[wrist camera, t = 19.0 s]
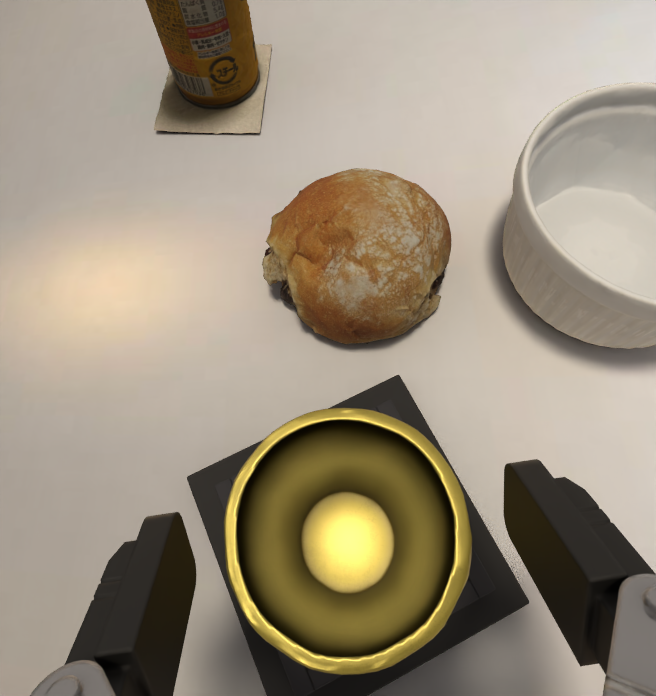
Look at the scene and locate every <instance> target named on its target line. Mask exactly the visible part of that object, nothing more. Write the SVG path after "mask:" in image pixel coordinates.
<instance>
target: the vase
mask: <svg viewBox="0 0 656 696" xmlns="http://www.w3.org/2000/svg"><path fill="white" fill-rule="evenodd" d="M224 538H225V558H226V569H227V573H228V578H229V582H230V584H231V587H232V589H233V591H234V593H235V596H236V598H237V600H238V602H239V605H240V607H241V609H242V611H243V613H244V615H245V616H246V618H247V620H248V622H249V623H250V625H251V626H252V627H253V628H254V630H255V631H256V632H257V633H258V634H259V635H260V636H261V637H262V638H263V639H264V640H265V641H267V642H268V643H270V644H271V645H272V646H274V647H275V648H277V649H278V650H280V651H281V652H282V653H284V654H285V655H287V656H288V657H290V658H291V659H292V660H294V661H296V662H298V663H300V664H301V665H303V666H305V667H307V668H309V669H312V670H316V671H320V672H324V673H331V674H341V675H348V674H364V673H370V672H376V671H380V670H382V669H385V668H388V667H391V666H393V665H394V664H396V663H398V662H399V661H401V660H403V659H404V658H406V657H408V656H409V655H411V654H412V653H414V652H415V651H417V650H418V649H420V648H421V647H423V646H424V645H425V644H426V643H428V642H429V641H430V640H432V639H433V638H434V637H435V636H436V635H437V634H438V633H439V632H440V630H441V629H442V628H443V627H444V626H445V624H446V622H447V620H448V618H449V616H450V614H451V613H452V611H453V609H454V607H455V605H456V603H457V601H458V599H459V596H460V594H461V592H462V590H463V588H464V586H465V584H466V582H467V580H468V576H469V571H470V565H471V557H472V535H471V529H470V523H469V517H468V512H467V507H466V503H465V499H464V495H463V492H462V490H461V487H460V485H459V483H458V480H457V478H456V477H455V475H454V473H453V471H452V469H451V468H450V466H449V465H448V463H447V462H446V461H445V459H444V458H443V456H442V455H441V454H440V452H439V451H438V450H437V449H436V448H435V447H434V445H433V444H432V443H431V442H430V441H429V440H428V439H427V438H426V437H425V436H424V435H422V434H421V433H420V432H419V431H418V430H416V429H415V428H413V427H411V426H410V425H408V424H406V423H404V422H402V421H400V420H397V419H395V418H393V417H390V416H388V415H385V414H383V413H379V412H376V411H373V410H367V409H357V408H332V409H323V410H317V411H313V412H310V413H307V414H304V415H302V416H300V417H297V418H295V419H293V420H291V421H289V422H287V423H286V424H284V425H282V426H281V427H279V428H278V429H276V430H275V431H273V432H272V433H271V434H270V435H269V436H268V437H266V438H265V439H264V441H263V442H262V443H261V444H260V445H259V446H258V447H257V449H256V450H255V451H254V452H253V453H252V454H251V456H250V457H249V458H248V460H247V461H246V462H245V464H244V465H243V466H242V468H241V469H240V471H239V473H238V475H237V477H236V478H235V480H234V483H233V486H232V489H231V492H230V495H229V499H228V503H227V506H226V512H225V519H224Z"/></svg>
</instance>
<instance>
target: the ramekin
mask: <svg viewBox="0 0 656 696" xmlns="http://www.w3.org/2000/svg"><path fill="white" fill-rule="evenodd" d="M503 256H504V259H505V266H506V269H507V271H508V273H509V277H510V280H511V281H512V283H513V284H514V286H515V289H516V291H517V292H518V293H519V294H520V295H521V297H522V299H523V301H524V302H525V303H526V304H527V305H528V306H529V307H530V308H531V309H532V311H533V312H534V313H536V314H537V315H538V316H540V317H541V318H542V319H543V320H544V321H545V322H547V323H548V324H550V325H552V326H553V327H554V328H556V329H557V330H559V331H561V332H563V333H565V334H567V335H569V336H571V337H574V338H577V339H579V340H581V341H584V342H587V343H592V344H595V345H598V346H606V347H611V348H625V349H632V348H636V347H638V348H645V347H650V346H653V345H656V83H623V84H615V85H609V86H604V87H600V88H596V89H593V90H589V91H586V92H584V93H581V94H579V95H576V96H575V97H572V98H571V99H569V100H567V101H565V102H564V103H562V104H561V105H559V106H558V107H556V108H555V109H554V110H552V111H551V112H550V113H549V114H548V115H547V116H546V117H545V118H544V119H543V120H542V121H541V122H540V123H539V124H538V125H537V126H536V128H535V129H534V131H533V132H532V134H531V135H530V137H529V139H528V141H527V143H526V145H525V147H524V149H523V151H522V153H521V155H520V157H519V160H518V163H517V166H516V169H515V173H514V179H513V194H512V198H511V201H510V205H509V208H508V212H507V217H506V221H505V226H504V235H503Z"/></svg>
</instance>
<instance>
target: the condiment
mask: <svg viewBox="0 0 656 696" xmlns="http://www.w3.org/2000/svg"><path fill="white" fill-rule="evenodd" d="M146 3H147V5H148V8H149V11H150V13H151V16H152V19H153V22H154V25H155V27H156V30H157V33H158V36H159V38H160V41H161V44H162V46H163V49H164V52H165V55H166V58H167V61H168V64H169V66H170V68H169V73H168V77H167V81H166V84H165V88H164V90H163V93H162V100H161V103H160V108H159V112H158V115H157V118H156V122H155V127H154V130H161V131H168V132H191V133H214V134H219V133H260V127H261V119H262V111H263V104H264V97H265V91H266V85H267V77H268V70H269V63H270V55H271V45H272V44H270V45H255V42H254V35H253V31H252V25H251V18H250V12H249V6H248V4H247V0H146Z"/></svg>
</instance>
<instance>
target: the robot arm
mask: <svg viewBox="0 0 656 696" xmlns="http://www.w3.org/2000/svg"><path fill="white" fill-rule="evenodd" d="M504 519H505V524H506V528H507V531H508V534H509V537H510V539H511V541H512V543H513V545H514V546H515V548H516V550H517V552H518V554H519V555H520V557H521V559H522V561H523V563H524V565H525V566H526V568H527V570H528V572H529V574H530V575H531V577H532V579H533V581H534V583H535V584H536V586H537V588H538V590H539V592H540V594H541V595H542V597H543V599H544V601H545V603H546V604H547V606H548V608H549V610H550V612H551V614H552V615H553V617H554V619H555V621H556V623H557V624H558V626H559V628H560V630H561V632H562V634H563V635H564V637H565V639H566V641H567V643H568V644H569V646H570V648H571V650H572V652H573V654H574V655H575V657H576V659H577V661H578V663H579V664H580V666H585V665H591V664H598V663H599V664H600V666H601V667H602V669H603V671H604V672H605V674H606V678H605V684H604V691H603V696H656V574H655V573H654V571H653V570H652V569H651V568H650V567H649V566H648V564H647V563H646V562H645V561H644V560H643V558H642V557H641V556H640V555H639V554H638V552H637V551H636V550H635V549H634V548H633V546H632V545H631V544H630V543H629V542H628V540H627V539H626V538H625V537H624V536H623V534H622V533H621V532H620V531H619V530H618V529H617V527H616V526H615V525H614V524H613V523H611V522H610V519H609V518H608V517H607V515H606V514H605V513H604V512H603V511H602V509H599V507H598V505H597V503H596V502H595V501H594V500H593V499H592V497H591V496H590V495H589V494H588V493H587V492H586V490H585V489H583V488H581V487H580V486H578V485H577V484H575V483H574V482H572V481H570V480H569V479H567V478H566V477H562V478H555V479H554V478H553V477H552V475H551V474H550V473H549V472H548V470H547V469H546V468H545V466H544V465H543V464H542V463H541V461H539V460H537V459H535V460H528V461H522V462H515V463H508V464H506V465H505V469H504ZM195 585H196V565H195V559H194V556H193V552H192V549H191V546H190V543H189V539H188V536H187V533H186V530H185V526H184V523H183V520H182V517H181V515H180V514H179V513H178V512H175V513H168V514H161V515H155V516H148V517H146V518H145V519H144V521H143V524H142V527H141V529H140V532H139V535H138V537H137V540H136V541H130V542H125V543H124V544H123V545H122V546H121V547H120V548H119V550H118V551H117V552H116V553H115V554H114V555H113V556H112V558H111V559H110V560H109V562H108V564H107V566H106V569H105V571H104V573H103V576H102V578H101V584H99V585H98V588H97V590H96V592H95V595H94V600H92V602H91V604H90V606H89V609H88V611H87V614H86V616H85V618H84V621H83V623H82V625H81V628H80V630H79V632H78V635H77V637H76V640H75V642H74V644H73V647H72V649H71V651H70V654H69V656H68V658H67V661H66V663H65V665H64V666H62V667H60V668H58V669H57V670H55V671H54V672H52V673H51V674H50V675H48V676H47V677H46V678H45V679H44V680H43V681H42V682H41V683H40V684H39V685H38V686H37V687H36V688H35V690H34V691H33V692H32V694H31V695H30V696H173V692H174V687H175V682H176V678H177V673H178V668H179V663H180V658H181V653H182V649H183V644H184V639H185V634H186V629H187V624H188V620H189V615H190V610H191V605H192V600H193V596H194V591H195Z"/></svg>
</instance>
